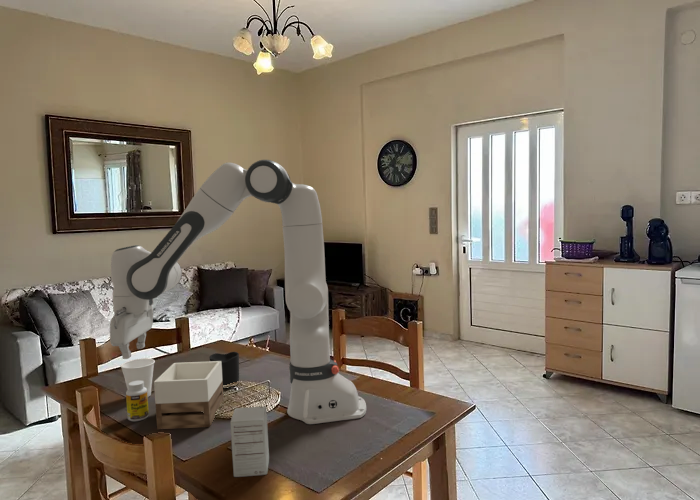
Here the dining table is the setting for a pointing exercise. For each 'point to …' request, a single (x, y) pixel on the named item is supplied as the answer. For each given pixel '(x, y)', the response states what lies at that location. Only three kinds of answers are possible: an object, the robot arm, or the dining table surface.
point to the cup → (139, 372)
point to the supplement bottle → (137, 401)
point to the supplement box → (250, 441)
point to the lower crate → (189, 412)
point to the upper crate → (188, 382)
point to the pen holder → (228, 366)
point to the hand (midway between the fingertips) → (134, 353)
